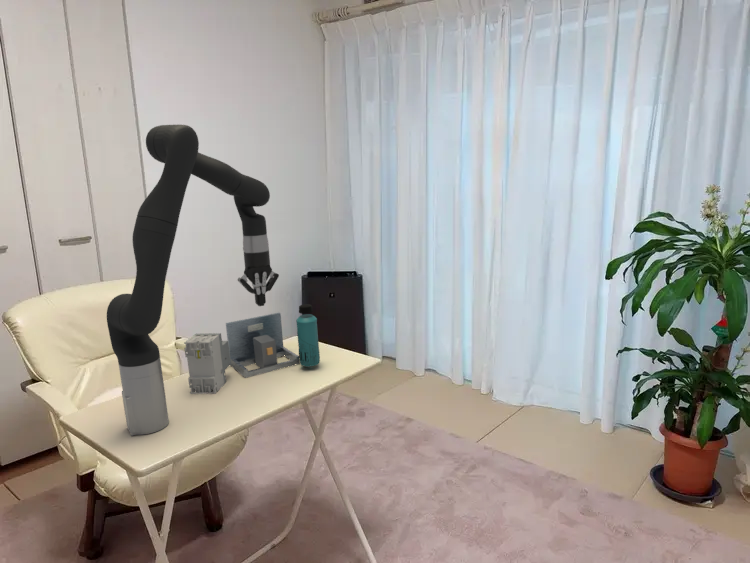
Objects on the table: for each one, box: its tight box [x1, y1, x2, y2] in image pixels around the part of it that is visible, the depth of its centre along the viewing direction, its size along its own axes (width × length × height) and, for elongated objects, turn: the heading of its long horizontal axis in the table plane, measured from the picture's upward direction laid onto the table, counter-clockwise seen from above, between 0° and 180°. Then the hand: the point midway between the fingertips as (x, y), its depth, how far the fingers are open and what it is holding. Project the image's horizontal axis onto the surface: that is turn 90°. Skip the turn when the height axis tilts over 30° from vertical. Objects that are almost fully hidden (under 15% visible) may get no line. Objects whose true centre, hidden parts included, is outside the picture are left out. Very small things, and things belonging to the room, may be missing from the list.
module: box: [253, 335, 278, 368], centre depth 169 cm, size 4×8×9 cm, turn 33°
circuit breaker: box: [183, 332, 230, 395], centre depth 157 cm, size 8×14×15 cm, turn 174°
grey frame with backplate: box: [225, 312, 301, 379], centre depth 170 cm, size 18×13×14 cm
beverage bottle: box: [296, 303, 321, 367], centre depth 165 cm, size 6×7×20 cm
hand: (260, 305), depth 167 cm, fingers closed
